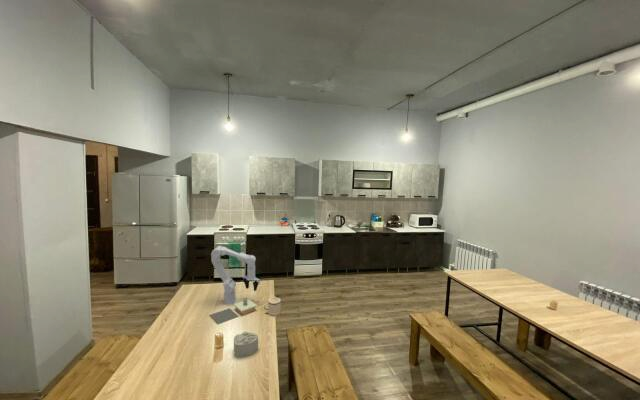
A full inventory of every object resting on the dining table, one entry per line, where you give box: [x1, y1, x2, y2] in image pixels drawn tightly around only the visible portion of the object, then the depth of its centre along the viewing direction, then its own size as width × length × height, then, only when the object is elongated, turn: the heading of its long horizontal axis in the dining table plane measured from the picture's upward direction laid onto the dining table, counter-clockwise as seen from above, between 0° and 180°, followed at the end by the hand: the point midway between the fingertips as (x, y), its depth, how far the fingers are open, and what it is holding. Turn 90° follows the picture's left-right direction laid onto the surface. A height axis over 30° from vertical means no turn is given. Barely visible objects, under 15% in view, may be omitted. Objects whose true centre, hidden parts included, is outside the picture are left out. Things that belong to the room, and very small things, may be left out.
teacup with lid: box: [263, 296, 282, 316], centre depth 192 cm, size 12×9×12 cm
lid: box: [233, 297, 258, 312], centre depth 194 cm, size 12×12×5 cm
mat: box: [208, 307, 240, 325], centre depth 186 cm, size 15×15×1 cm
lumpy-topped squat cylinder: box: [233, 331, 259, 358], centre depth 151 cm, size 10×13×9 cm
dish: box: [235, 307, 256, 316], centre depth 194 cm, size 10×10×4 cm
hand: (251, 289), depth 205 cm, fingers open, 7 cm apart
